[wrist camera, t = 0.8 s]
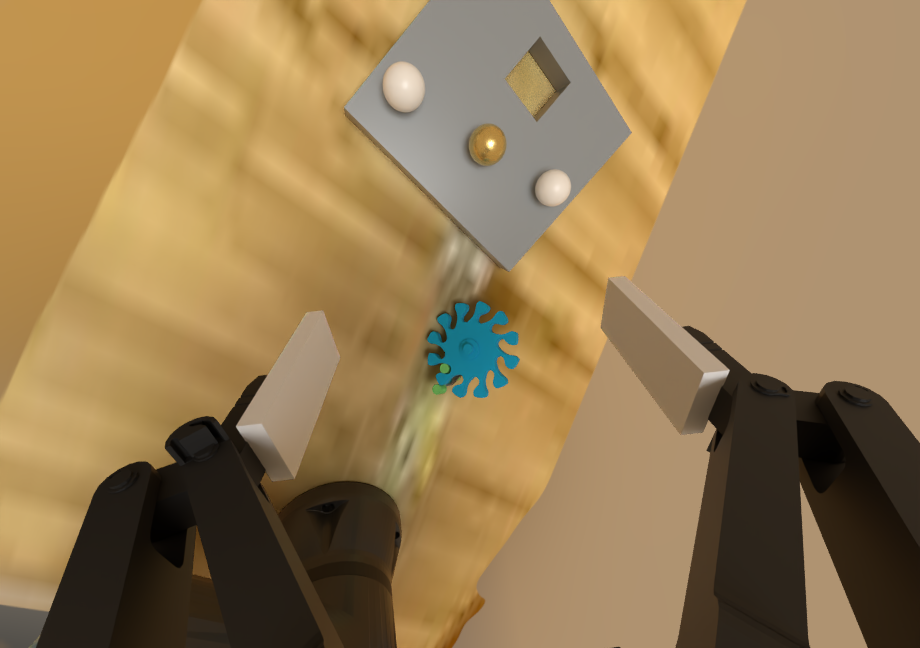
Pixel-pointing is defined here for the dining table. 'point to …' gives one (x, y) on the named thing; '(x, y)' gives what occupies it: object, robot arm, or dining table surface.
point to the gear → (471, 351)
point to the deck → (491, 117)
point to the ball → (487, 144)
